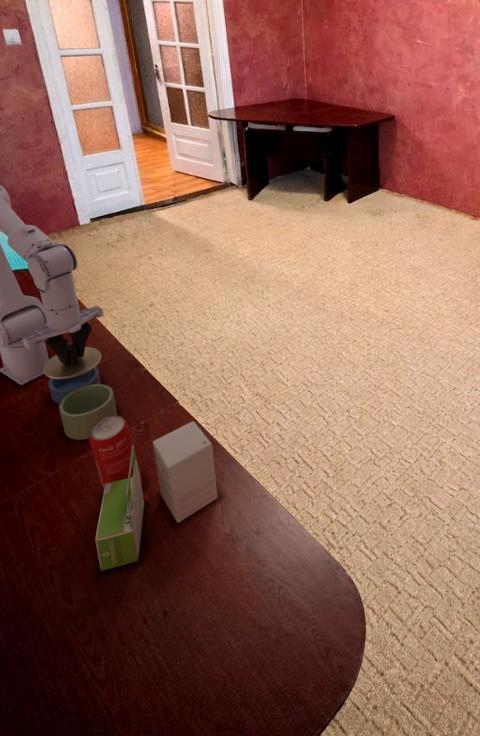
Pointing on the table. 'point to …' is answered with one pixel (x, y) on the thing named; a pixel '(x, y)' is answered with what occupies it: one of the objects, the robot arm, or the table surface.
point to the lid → (72, 363)
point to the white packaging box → (185, 470)
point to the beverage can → (112, 449)
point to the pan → (72, 384)
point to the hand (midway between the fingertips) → (72, 359)
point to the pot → (86, 409)
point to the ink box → (121, 520)
